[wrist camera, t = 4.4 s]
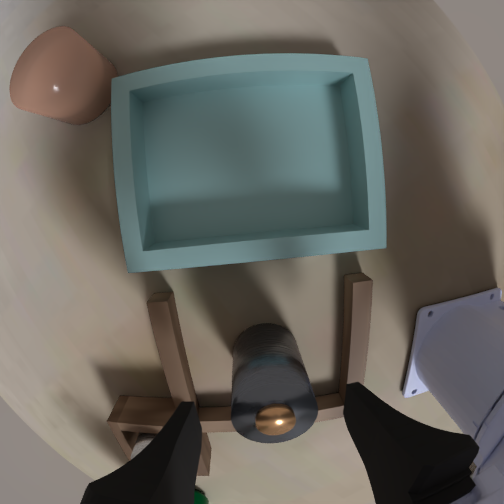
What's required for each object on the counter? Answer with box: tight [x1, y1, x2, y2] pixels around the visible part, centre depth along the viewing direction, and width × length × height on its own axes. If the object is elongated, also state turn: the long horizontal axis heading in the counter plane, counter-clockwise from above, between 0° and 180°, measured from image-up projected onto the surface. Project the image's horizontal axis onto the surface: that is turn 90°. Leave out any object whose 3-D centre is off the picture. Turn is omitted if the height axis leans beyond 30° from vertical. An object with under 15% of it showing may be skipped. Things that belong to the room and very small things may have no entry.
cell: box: [231, 323, 318, 443], centre depth 14 cm, size 4×4×6 cm
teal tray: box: [111, 53, 386, 273], centre depth 14 cm, size 13×10×2 cm
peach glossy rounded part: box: [10, 26, 118, 125], centre depth 11 cm, size 5×5×5 cm
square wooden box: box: [107, 396, 211, 476], centre depth 17 cm, size 6×6×3 cm
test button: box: [131, 432, 157, 459], centre depth 16 cm, size 4×4×3 cm
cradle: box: [147, 273, 373, 433], centre depth 17 cm, size 12×10×2 cm
